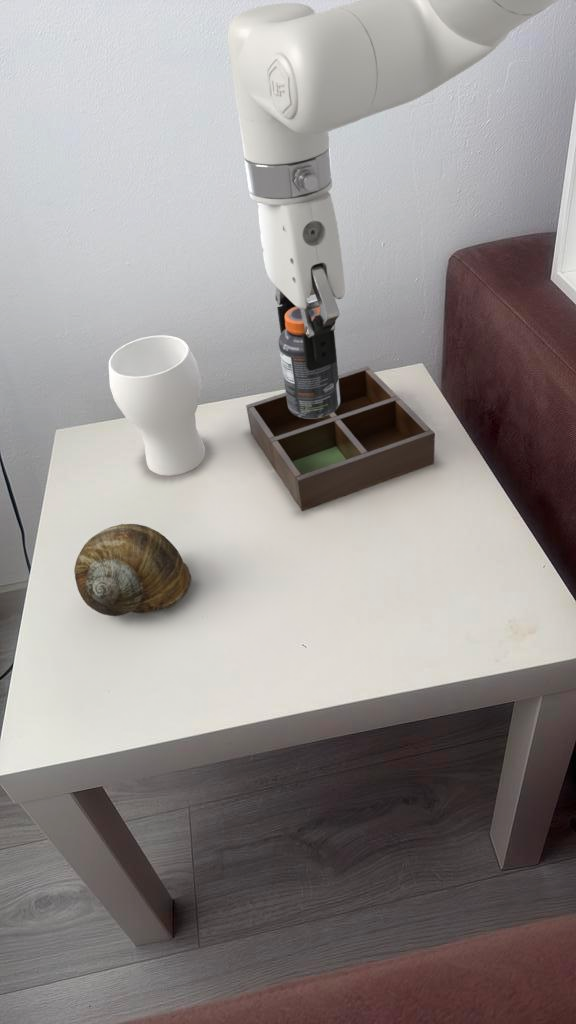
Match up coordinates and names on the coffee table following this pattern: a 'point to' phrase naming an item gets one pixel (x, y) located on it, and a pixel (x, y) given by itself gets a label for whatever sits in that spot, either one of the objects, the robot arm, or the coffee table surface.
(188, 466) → the cup
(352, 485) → the compartment tray
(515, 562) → the coffee table surface
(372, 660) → the coffee table surface
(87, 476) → the coffee table surface
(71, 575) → the coffee table surface
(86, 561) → the seashell
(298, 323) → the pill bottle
